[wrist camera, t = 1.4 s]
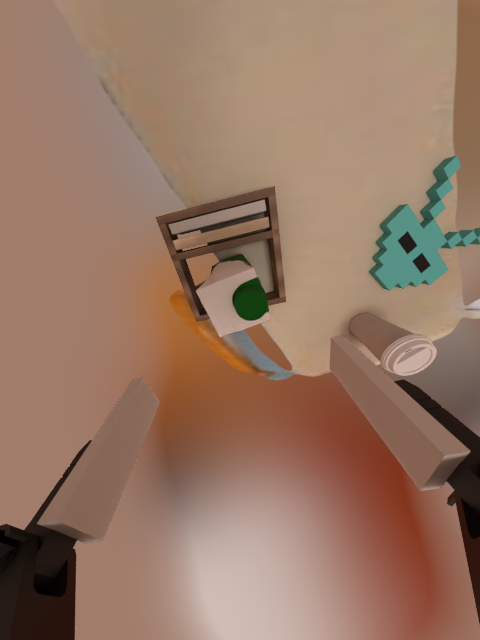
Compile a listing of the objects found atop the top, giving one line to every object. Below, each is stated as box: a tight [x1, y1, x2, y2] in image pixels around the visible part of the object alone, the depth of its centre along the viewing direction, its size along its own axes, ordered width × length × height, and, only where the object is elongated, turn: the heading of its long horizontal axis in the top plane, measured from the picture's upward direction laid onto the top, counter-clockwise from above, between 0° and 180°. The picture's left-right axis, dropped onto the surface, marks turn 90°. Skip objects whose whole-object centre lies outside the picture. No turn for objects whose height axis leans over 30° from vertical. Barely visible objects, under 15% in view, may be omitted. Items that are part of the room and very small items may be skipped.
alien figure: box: [369, 155, 480, 290], centre depth 36 cm, size 20×2×20 cm
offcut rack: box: [156, 186, 286, 322], centre depth 35 cm, size 21×20×4 cm
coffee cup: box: [349, 313, 436, 376], centre depth 39 cm, size 10×10×15 cm
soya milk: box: [196, 254, 271, 337], centre depth 29 cm, size 9×9×20 cm
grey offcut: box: [169, 200, 266, 234], centre depth 30 cm, size 2×16×6 cm, turn 103°
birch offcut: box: [173, 217, 269, 250], centre depth 31 cm, size 2×16×8 cm, turn 103°
